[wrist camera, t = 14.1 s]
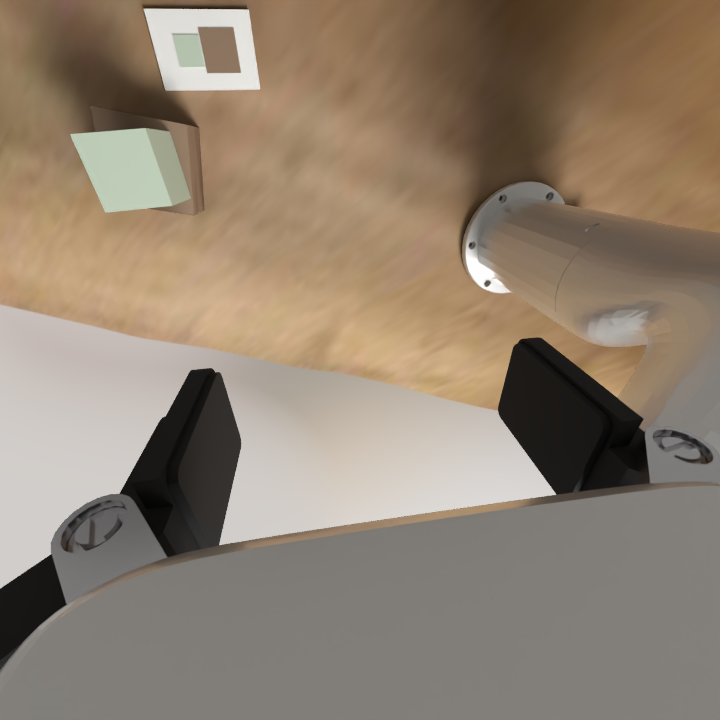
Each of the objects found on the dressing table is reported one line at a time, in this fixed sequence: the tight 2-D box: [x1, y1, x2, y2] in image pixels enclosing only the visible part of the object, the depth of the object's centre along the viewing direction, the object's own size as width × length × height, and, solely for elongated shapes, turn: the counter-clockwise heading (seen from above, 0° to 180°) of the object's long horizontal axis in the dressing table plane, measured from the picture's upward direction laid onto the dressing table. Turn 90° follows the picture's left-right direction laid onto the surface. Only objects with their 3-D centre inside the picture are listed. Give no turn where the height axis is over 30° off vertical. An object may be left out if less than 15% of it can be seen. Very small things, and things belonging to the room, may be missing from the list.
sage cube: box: [70, 128, 191, 212], centre depth 26 cm, size 5×5×5 cm
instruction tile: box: [144, 9, 261, 91], centre depth 28 cm, size 8×5×1 cm, turn 92°
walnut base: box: [90, 106, 204, 215], centre depth 30 cm, size 7×7×4 cm
